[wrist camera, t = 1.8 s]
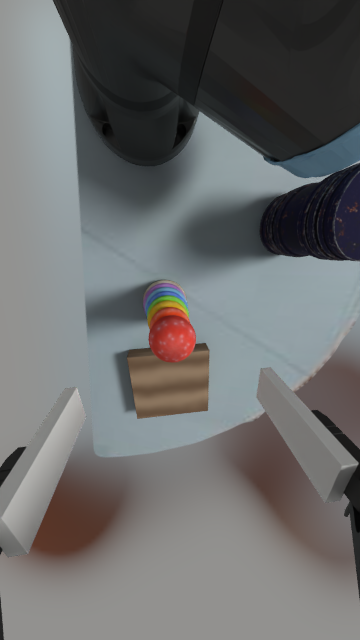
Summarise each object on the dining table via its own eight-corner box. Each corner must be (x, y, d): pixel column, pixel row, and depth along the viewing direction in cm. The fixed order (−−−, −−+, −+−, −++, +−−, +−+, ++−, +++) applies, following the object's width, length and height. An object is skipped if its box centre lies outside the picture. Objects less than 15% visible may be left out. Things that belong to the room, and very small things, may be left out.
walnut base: (129, 349, 38) (127, 357, 36) (205, 343, 40) (209, 350, 37) (138, 407, 44) (137, 418, 42) (204, 400, 46) (207, 410, 43)
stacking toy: (179, 323, 37) (198, 390, 20) (139, 315, 36) (122, 380, 19) (190, 284, 35) (222, 324, 17) (148, 274, 33) (136, 306, 16)
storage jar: (296, 261, 35) (385, 272, 21) (250, 247, 33) (314, 249, 20) (324, 202, 32) (450, 170, 18) (274, 182, 30) (372, 130, 16)
